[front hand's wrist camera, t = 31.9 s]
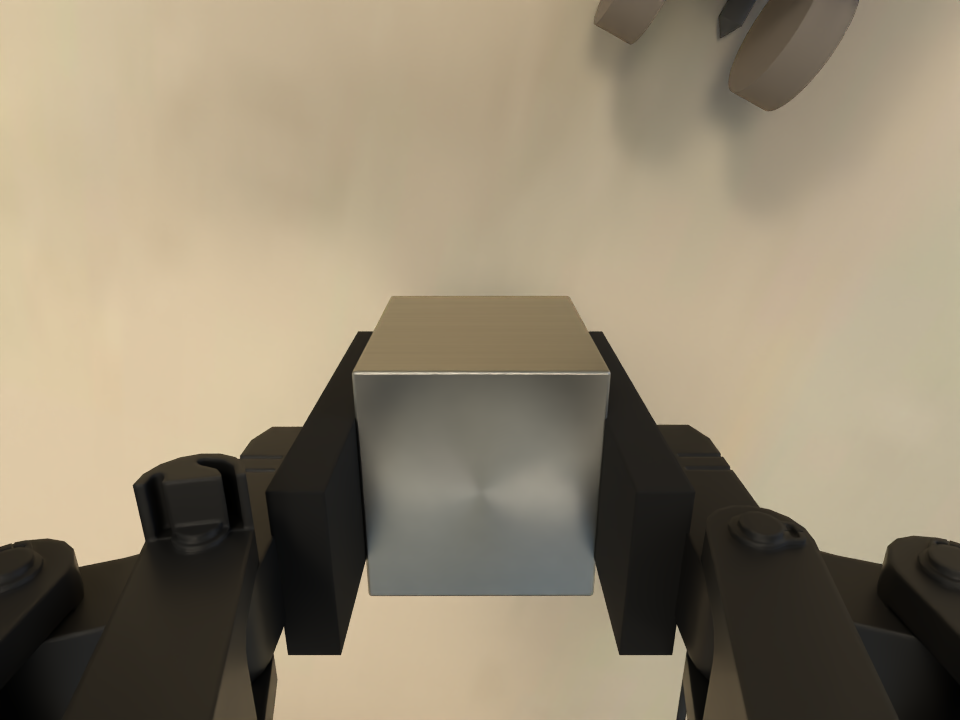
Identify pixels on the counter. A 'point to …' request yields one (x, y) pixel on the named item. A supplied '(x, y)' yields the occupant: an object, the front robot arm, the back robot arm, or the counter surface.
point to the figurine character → (756, 41)
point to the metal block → (480, 447)
